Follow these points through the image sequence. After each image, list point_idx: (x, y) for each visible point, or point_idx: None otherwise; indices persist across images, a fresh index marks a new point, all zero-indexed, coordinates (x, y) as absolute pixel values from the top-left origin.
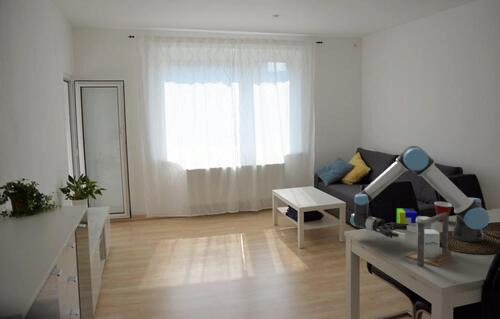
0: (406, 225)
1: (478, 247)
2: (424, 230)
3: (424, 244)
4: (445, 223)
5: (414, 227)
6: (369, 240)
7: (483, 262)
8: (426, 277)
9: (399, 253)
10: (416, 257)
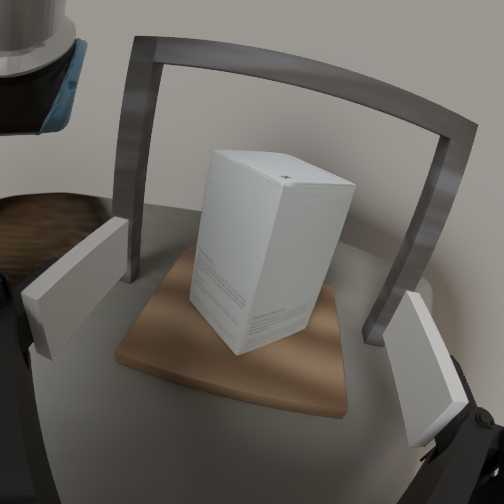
0: (14, 307)
1: (37, 206)
2: (301, 174)
3: (332, 256)
4: (153, 104)
5: (105, 239)
6: None
7: (180, 211)
8: (430, 309)
9: (310, 471)
10: (328, 356)
